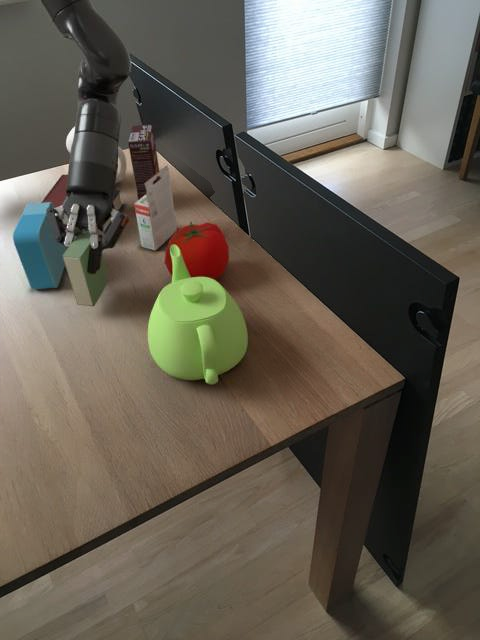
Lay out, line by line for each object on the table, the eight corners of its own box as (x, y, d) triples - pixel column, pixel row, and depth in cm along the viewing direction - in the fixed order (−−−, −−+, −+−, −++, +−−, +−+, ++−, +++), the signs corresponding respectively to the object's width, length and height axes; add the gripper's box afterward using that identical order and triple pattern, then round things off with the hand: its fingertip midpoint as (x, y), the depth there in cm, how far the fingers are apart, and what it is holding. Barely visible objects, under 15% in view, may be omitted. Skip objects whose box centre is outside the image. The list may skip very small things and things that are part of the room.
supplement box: (162, 211, 116) (151, 140, 106) (139, 213, 116) (126, 142, 105) (163, 192, 123) (153, 123, 112) (142, 193, 122) (130, 125, 112)
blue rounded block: (46, 254, 106) (28, 200, 98) (69, 253, 106) (52, 198, 98) (32, 292, 97) (10, 236, 89) (57, 291, 97) (38, 234, 89)
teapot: (140, 314, 91) (126, 250, 82) (224, 295, 94) (220, 232, 85) (164, 412, 75) (150, 346, 67) (266, 386, 78) (265, 319, 69)
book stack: (40, 242, 109) (29, 210, 104) (72, 202, 121) (63, 172, 116) (96, 246, 107) (88, 214, 102) (123, 205, 119) (117, 175, 114)
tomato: (245, 269, 99) (243, 222, 93) (201, 306, 92) (195, 257, 85) (199, 250, 105) (193, 204, 98) (154, 284, 97) (145, 236, 91)
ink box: (141, 247, 106) (127, 179, 96) (163, 227, 111) (152, 161, 102) (156, 251, 105) (144, 183, 95) (178, 231, 110) (169, 164, 100)
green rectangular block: (77, 305, 90) (61, 256, 83) (93, 279, 95) (80, 231, 88) (94, 307, 89) (80, 257, 83) (109, 280, 94) (97, 232, 88)
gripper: (41, 156, 85) (28, 265, 84) (126, 161, 83) (113, 272, 82) (63, 172, 92) (52, 272, 91) (142, 176, 90) (130, 279, 89)
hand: (81, 271), depth 87 cm, fingers closed on green rectangular block, 3 cm apart
